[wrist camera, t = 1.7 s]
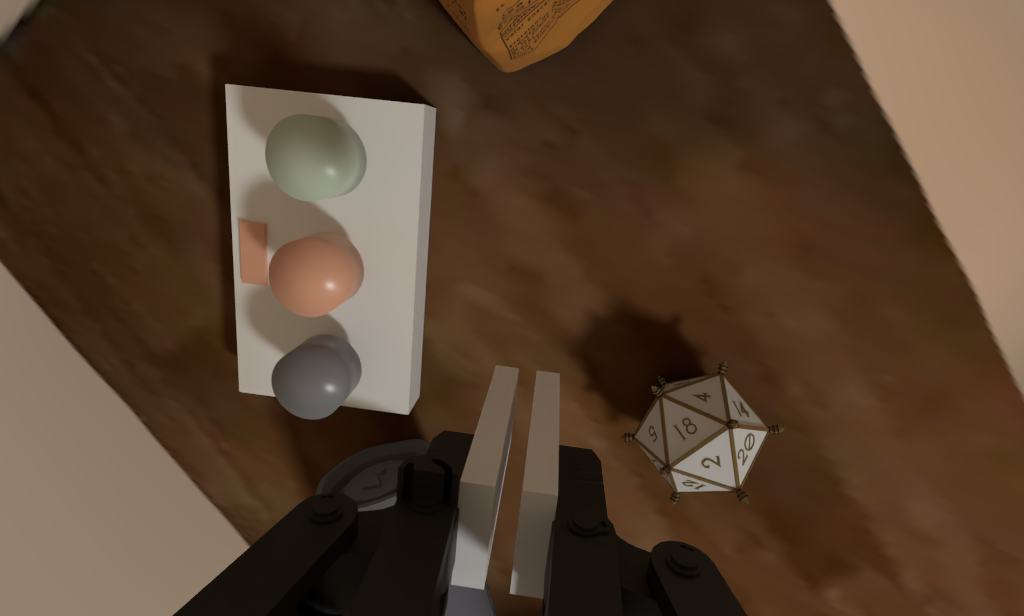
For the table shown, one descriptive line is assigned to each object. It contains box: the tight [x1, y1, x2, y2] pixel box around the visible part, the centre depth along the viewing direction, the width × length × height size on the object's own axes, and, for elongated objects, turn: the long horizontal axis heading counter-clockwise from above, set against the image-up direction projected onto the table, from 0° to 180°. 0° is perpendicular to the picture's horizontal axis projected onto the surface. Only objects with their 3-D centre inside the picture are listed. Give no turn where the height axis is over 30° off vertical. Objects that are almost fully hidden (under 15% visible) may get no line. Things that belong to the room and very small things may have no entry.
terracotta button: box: [268, 232, 364, 317], centre depth 32 cm, size 4×4×3 cm
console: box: [225, 84, 436, 415], centre depth 36 cm, size 20×12×3 cm, turn 174°
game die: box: [620, 360, 784, 505], centre depth 34 cm, size 9×8×10 cm
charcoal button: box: [271, 334, 362, 420], centre depth 33 cm, size 4×4×3 cm
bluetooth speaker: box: [315, 439, 496, 616], centre depth 39 cm, size 23×9×10 cm, turn 14°
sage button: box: [265, 114, 367, 201], centre depth 30 cm, size 4×4×3 cm
